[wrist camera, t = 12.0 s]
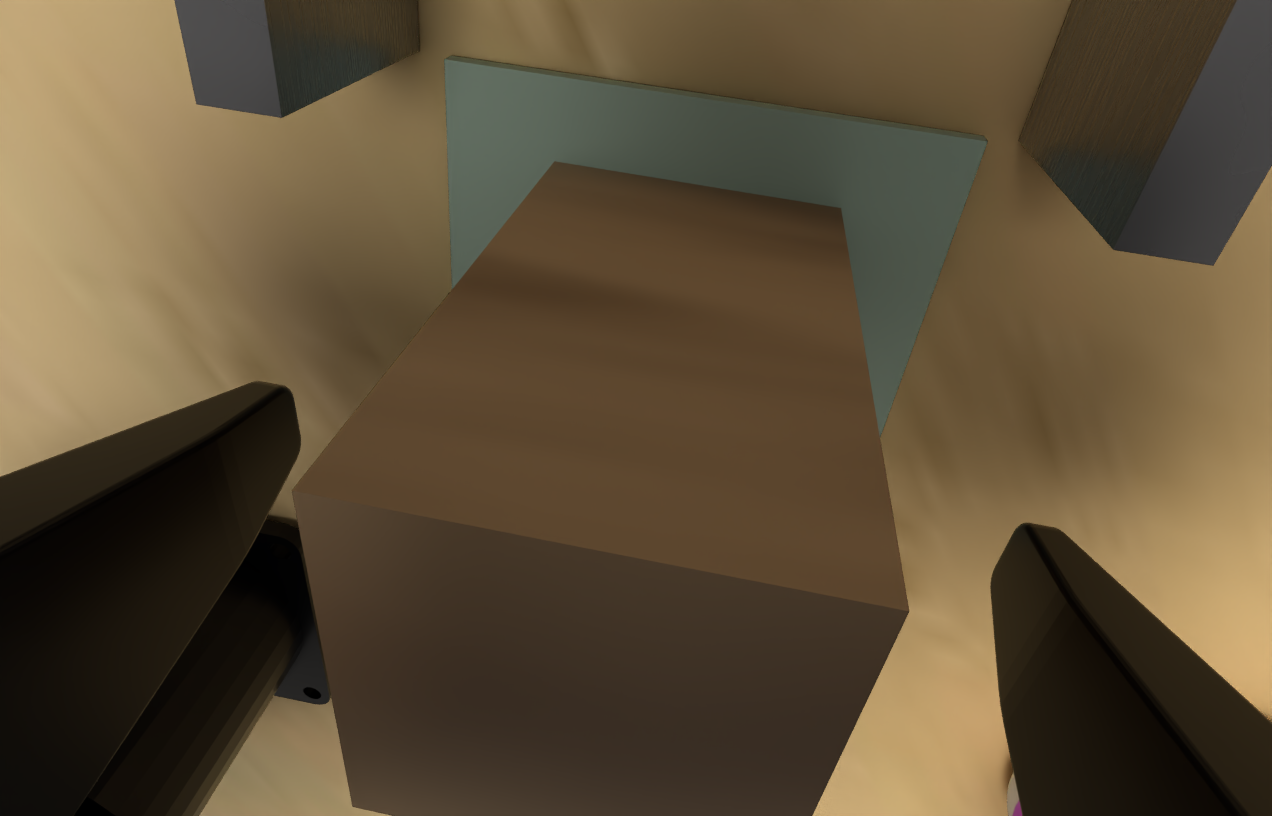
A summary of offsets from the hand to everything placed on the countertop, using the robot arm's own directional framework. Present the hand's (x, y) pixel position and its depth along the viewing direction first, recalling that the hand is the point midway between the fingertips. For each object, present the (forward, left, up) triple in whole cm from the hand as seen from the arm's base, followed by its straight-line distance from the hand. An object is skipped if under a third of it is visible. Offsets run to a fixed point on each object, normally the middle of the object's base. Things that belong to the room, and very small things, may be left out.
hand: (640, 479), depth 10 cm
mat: (0, 0, -5) cm, 5 cm away
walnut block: (0, 0, -5) cm, 5 cm away
